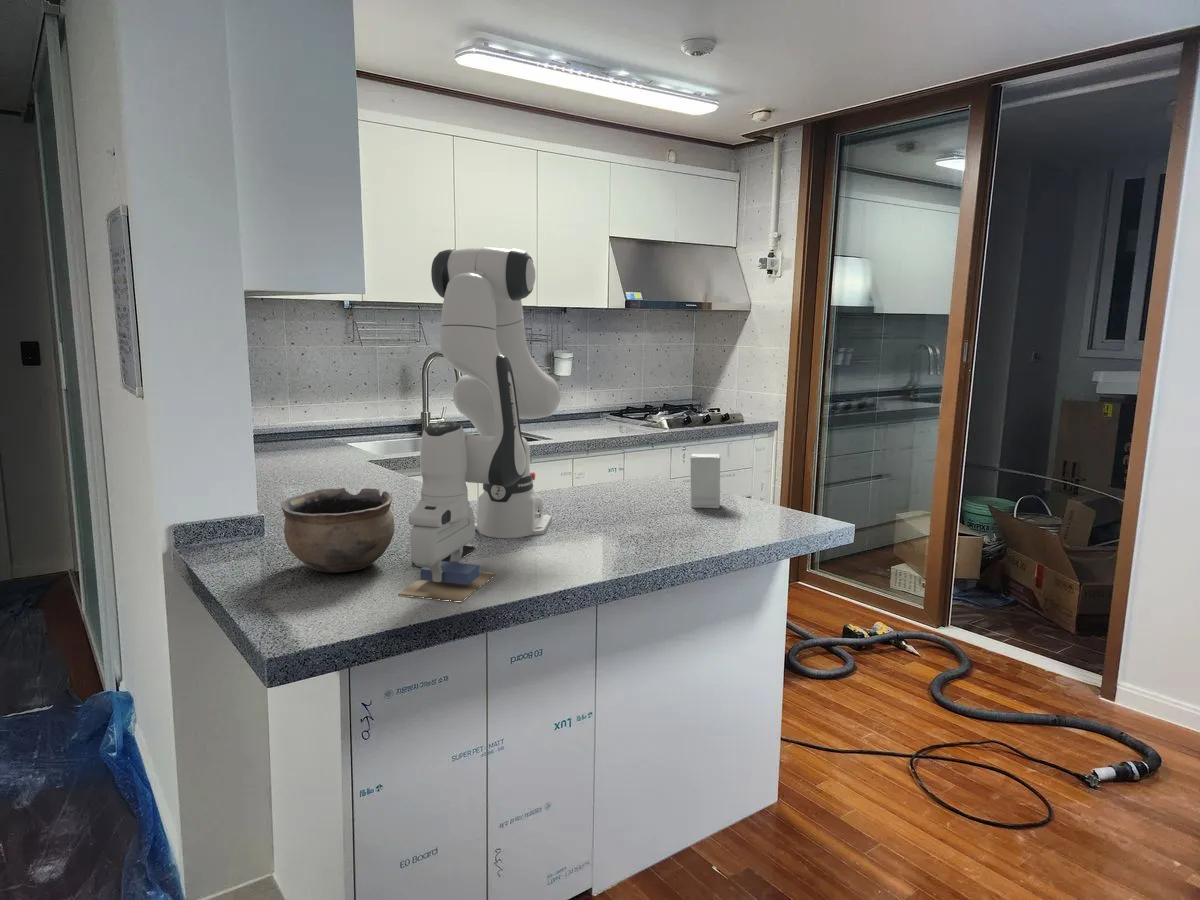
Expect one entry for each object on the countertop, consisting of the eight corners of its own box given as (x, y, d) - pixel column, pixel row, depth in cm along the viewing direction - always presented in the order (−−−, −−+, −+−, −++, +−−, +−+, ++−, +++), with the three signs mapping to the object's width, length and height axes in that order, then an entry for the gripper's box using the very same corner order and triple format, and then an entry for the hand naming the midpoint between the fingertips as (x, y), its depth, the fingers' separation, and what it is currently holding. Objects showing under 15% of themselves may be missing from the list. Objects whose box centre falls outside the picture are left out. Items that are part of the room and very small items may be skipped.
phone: (409, 562, 162) (446, 543, 176) (410, 567, 162) (447, 547, 176) (442, 566, 160) (477, 546, 174) (442, 571, 160) (477, 551, 174)
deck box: (479, 575, 151) (433, 570, 154) (479, 564, 151) (433, 560, 154) (467, 584, 146) (420, 579, 149) (467, 573, 146) (420, 569, 148)
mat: (438, 569, 160) (437, 567, 160) (495, 575, 156) (495, 573, 156) (398, 595, 145) (398, 593, 144) (461, 602, 141) (461, 600, 141)
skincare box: (719, 504, 219) (721, 453, 217) (719, 509, 213) (721, 457, 211) (690, 503, 221) (692, 452, 218) (689, 508, 215) (690, 455, 212)
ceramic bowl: (414, 557, 168) (412, 490, 166) (363, 590, 147) (359, 514, 145) (324, 549, 173) (320, 484, 171) (261, 580, 152) (256, 506, 150)
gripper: (454, 494, 159) (455, 558, 161) (403, 518, 139) (405, 590, 142) (482, 496, 157) (483, 561, 159) (434, 520, 138) (436, 594, 140)
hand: (446, 575), depth 150 cm, fingers closed on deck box, 5 cm apart
